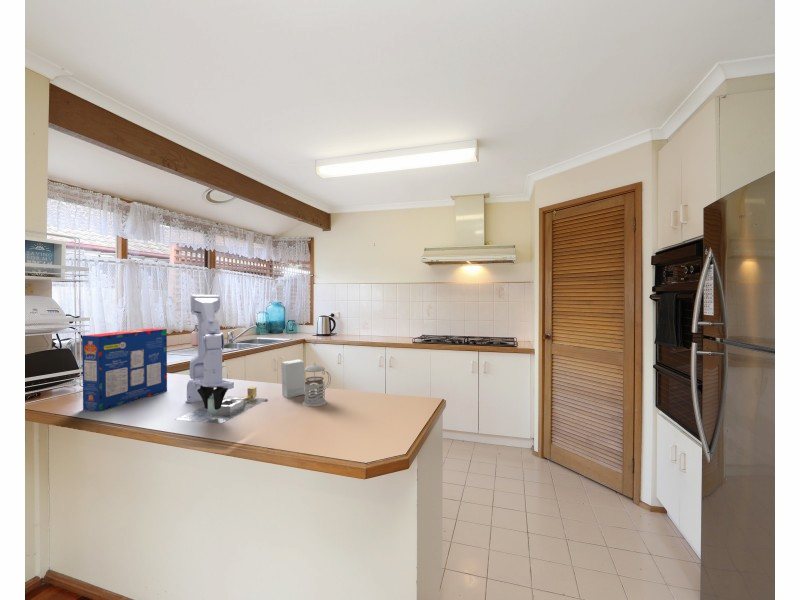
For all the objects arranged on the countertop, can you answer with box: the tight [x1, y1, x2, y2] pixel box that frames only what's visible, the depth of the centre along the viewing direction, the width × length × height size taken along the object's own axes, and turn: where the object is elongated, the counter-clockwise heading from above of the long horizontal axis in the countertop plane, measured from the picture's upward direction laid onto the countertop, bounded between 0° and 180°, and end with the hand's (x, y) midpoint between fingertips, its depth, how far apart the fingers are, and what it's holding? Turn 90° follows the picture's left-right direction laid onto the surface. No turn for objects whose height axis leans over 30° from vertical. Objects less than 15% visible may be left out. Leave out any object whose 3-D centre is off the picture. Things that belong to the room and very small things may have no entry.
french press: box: [301, 340, 332, 407], centre depth 139 cm, size 10×12×25 cm
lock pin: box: [243, 386, 257, 402], centre depth 135 cm, size 2×10×4 cm, turn 170°
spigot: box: [208, 395, 218, 414], centre depth 118 cm, size 3×3×6 cm
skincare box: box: [281, 358, 305, 399], centre depth 148 cm, size 8×6×15 cm
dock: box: [174, 395, 268, 424], centre depth 128 cm, size 18×27×4 cm, turn 170°
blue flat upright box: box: [81, 327, 168, 413], centre depth 141 cm, size 28×8×28 cm, turn 167°
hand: (213, 408), depth 118 cm, fingers closed on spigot, 3 cm apart
